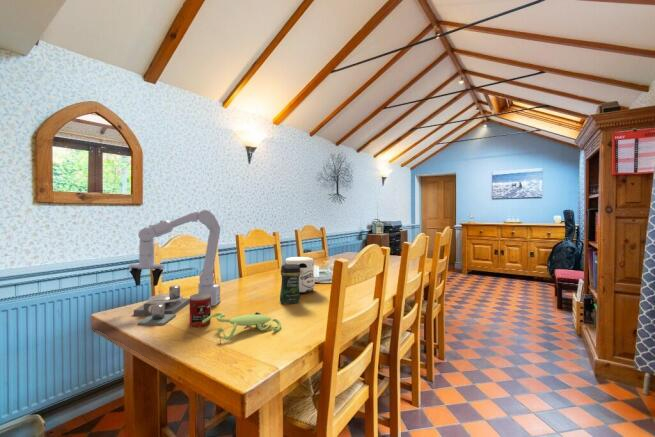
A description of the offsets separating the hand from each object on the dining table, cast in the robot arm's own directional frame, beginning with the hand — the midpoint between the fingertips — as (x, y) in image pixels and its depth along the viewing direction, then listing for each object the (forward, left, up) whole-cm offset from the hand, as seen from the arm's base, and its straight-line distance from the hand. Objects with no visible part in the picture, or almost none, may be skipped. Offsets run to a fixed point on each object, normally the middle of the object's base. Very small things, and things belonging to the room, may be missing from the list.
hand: (146, 285), depth 138 cm
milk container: (-65, -33, -11) cm, 74 cm away
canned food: (-30, +17, -11) cm, 36 cm away
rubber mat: (-12, +14, -10) cm, 21 cm away
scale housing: (-7, -1, -10) cm, 13 cm away
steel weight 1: (-12, +13, -10) cm, 20 cm away
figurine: (-47, +22, -11) cm, 53 cm away
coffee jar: (-62, -13, -11) cm, 64 cm away
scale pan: (-7, -2, -7) cm, 10 cm away
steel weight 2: (-11, -2, -6) cm, 13 cm away
